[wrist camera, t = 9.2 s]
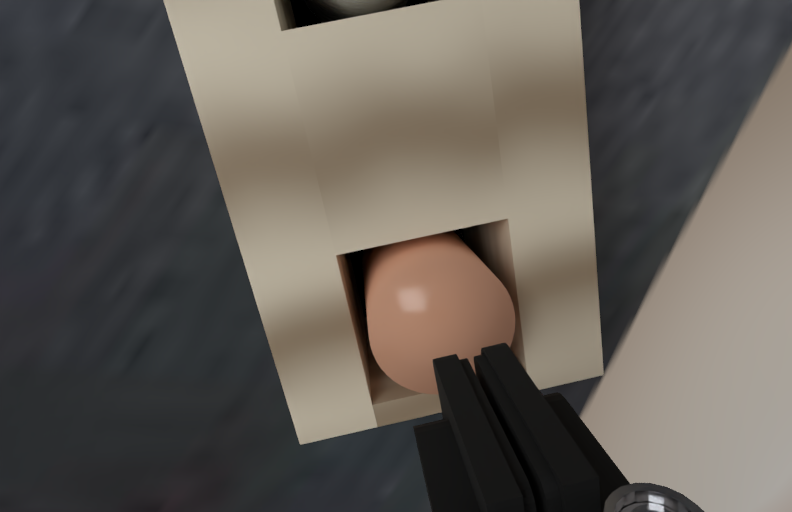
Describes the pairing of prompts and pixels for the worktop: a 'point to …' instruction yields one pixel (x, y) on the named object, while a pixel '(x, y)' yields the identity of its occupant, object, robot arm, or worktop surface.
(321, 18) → the grey plug
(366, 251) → the terracotta plug
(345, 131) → the birch plug console
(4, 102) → the worktop surface
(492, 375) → the robot arm
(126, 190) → the worktop surface
